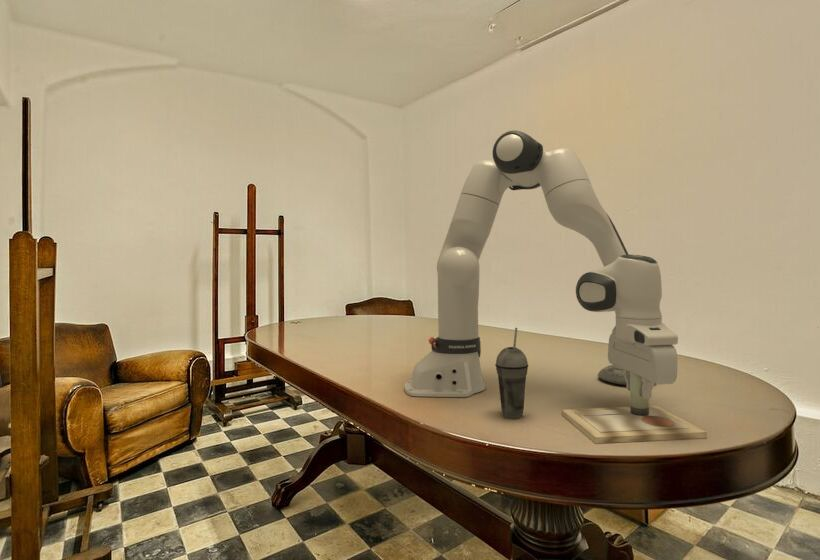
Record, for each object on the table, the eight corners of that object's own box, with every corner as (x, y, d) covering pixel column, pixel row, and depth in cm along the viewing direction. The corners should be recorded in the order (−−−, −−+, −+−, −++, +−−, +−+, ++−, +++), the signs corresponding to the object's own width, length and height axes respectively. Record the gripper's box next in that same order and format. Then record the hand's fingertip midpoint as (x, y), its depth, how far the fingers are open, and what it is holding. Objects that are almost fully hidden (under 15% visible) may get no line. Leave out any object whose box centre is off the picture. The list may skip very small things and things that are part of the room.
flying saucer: (605, 388, 121) (605, 368, 121) (592, 374, 136) (591, 357, 135) (665, 389, 118) (665, 369, 118) (644, 375, 133) (644, 357, 133)
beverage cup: (492, 411, 104) (490, 326, 103) (522, 409, 105) (521, 325, 104) (501, 422, 97) (499, 330, 96) (534, 420, 97) (532, 329, 97)
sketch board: (595, 443, 84) (595, 435, 84) (561, 415, 100) (561, 408, 100) (706, 438, 86) (706, 430, 86) (655, 410, 102) (655, 404, 102)
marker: (636, 416, 94) (635, 364, 94) (626, 410, 98) (626, 360, 97) (652, 415, 95) (652, 363, 94) (642, 409, 98) (642, 360, 98)
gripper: (600, 324, 106) (600, 381, 106) (652, 338, 85) (652, 409, 86) (626, 323, 106) (626, 380, 107) (684, 337, 86) (684, 408, 86)
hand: (638, 394), depth 96 cm, fingers closed on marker, 4 cm apart
